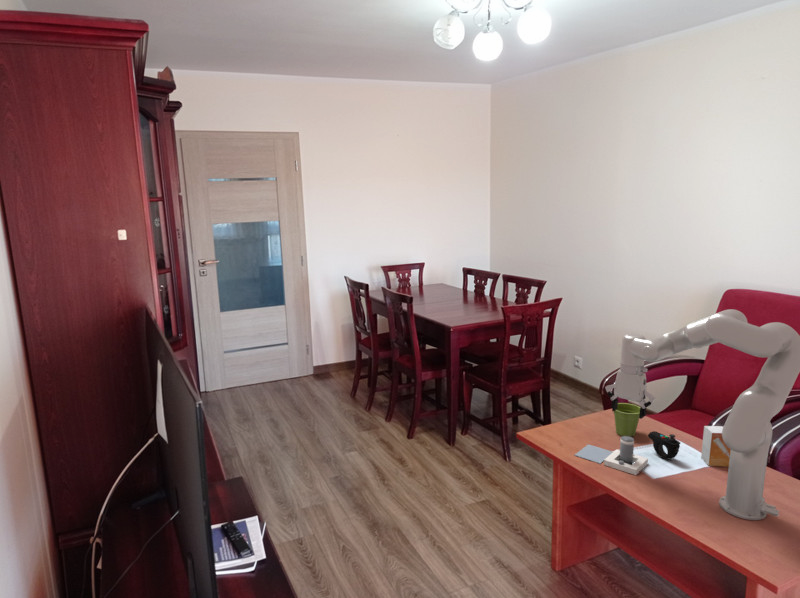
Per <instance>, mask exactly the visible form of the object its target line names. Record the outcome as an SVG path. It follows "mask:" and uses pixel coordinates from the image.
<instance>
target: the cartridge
mask: <svg viewBox="0 0 800 598" xmlns="http://www.w3.org/2000/svg"><path fill="white" fill-rule="evenodd" d="M619 441H620V445H619V446H620V447H619V450H620V458H619V460H622V461H624V463H626V464H630V465H633V464H634V462H633V453H634V450H635V449H634V447H635V446H634V445H635V438H634V437H633V436H631V437H629V436H620V440H619ZM619 460H618V461H619Z"/></svg>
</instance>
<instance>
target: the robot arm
mask: <svg viewBox="0 0 800 598" xmlns="http://www.w3.org/2000/svg"><path fill="white" fill-rule="evenodd" d="M718 343H719V344H722V345H725V346H727V347H729V348H732V349H735V350H737V351H740V352H743V353H745V354H748V355H750V356H753V357H757V358H766V361H765V362H764V364H763V366H762V367H761V369H760V372H759V374H758V376H757V378H756V380H755V381H754V383H753V384H752V385H751V386H750V387H749V388H747V389H746V390H744V391H743V392H741V393H740V394H739V396H738V397H737V398H736V400H735V402H734V404H733V406H732V408H731V409H730V411H729V414H728V416H727V419H726V420H725V423H724V425H723V426H724V427H723V430H722V438H723V441H724V443H725V444H726V445H727V447H728V448H730V449H731V451H730V459H729V467H728V471H727V481H726V489H725V490H726V491H725V495H723V496H721V497H720V498H719V502H718V504H719V506H720V508H721V509H723V511H725V512H726V513H728V514H730V515H731V516H734V517H736V518H740V519H745V520H749V521H759V520H763V519H765V518H767V516H768V515H770V516H774V517H777V518H778V517H779V515H780V514H779V513H780V510H779V509H776V508H777V507H776V505H772V504H769V503H767V502H765V500H766V497H763V496H764V489H765V488H764V486H765V479H766V470H767V465H768V456H769V450H770V446H771V442H772V438H773V426H772V423H771V420H772V419H773V417H775V416H776V415H778V414H779V413H780V411H782V410H783V408H784V406H785V403H786V401H787V398H788V396H789V395H790V393H791V391H792V389H793V386H794V385H795V382H796V380H797V378H798V376H799V374H800V334H799V333H798V332H797V330H795V329H794V328H793V327H791V326H790V325H788V324H786V323H784V322H779V321H775V322H768V323H765V324H763V325H761V326H758V325H754V324H752V323H749V322H748V318H747V317H746V315H745V314H744V313H743V312H741V310H740V311H739V310H737V309H730V308H729V309H724V310H722V311H719V312H717V313H713V314H712V315H709V316H706V317H703V318H701V319H698V320H697V319H696V320H694V321H692V322H689V323H687V324H685V325H684V326H683V327H681V328H677V329H675V330H673V331H670V332H667V333H665V334H660V335H658V336H655V337H652V338H647V339H646V337H645V336H644V335H643V334H640V333H626V334H624V335H623V336H622V341H621V352H620V354H621V356H620V366H619V367H620V368H619V369H618V371H617V373H616V378H615V381H614V383H613V384H608V385H606V386H604V387H605V390H606V392H607V393H606V395H608V397H609V398H610V399H609V400H611V407H610V408H611V411H612V412H614V411H615V410H617V407H618V403H619V399H623V400H627V401H631V402H636V403H639V405H640V407H641V408H640V414H639V420H643V418H645V417H646V415H647V407H648V408H649V407H650V406H651V405H652V404H653V403H654V402H655V400H656V397H655V396H654V395H652V394H651V393H650V392H649V391H647V376H646V373H648V370H649V369H648V368H647V367H645V361H646V362H650V363H655V362H658V361H661V360H663V359H665V358H668V357H670V356H673V355H676V354H678V353H681V352H684V351H687V350H692V349H697V350H698V349H702V348H706V347H708V346H711V345H715V344H718ZM612 389H613V390H612ZM618 398H619V399H618ZM646 398H647V399H648V401H646ZM767 514H768V515H767Z"/></svg>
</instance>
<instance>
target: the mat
mask: <svg viewBox="0 0 800 598" xmlns="http://www.w3.org/2000/svg"><path fill="white" fill-rule="evenodd" d="M613 452H614V451H611V450H608V449H605V448H602V447H599V446H595V445H591V444H588V443H587V444H586V446H584V447H583V448H581V449H580V450H579V451H577V452H576V453H575V454H574V456H575V457H578V458H581V459H584V460H587V461H589V462H590V461H591V462H593V463H595V464H600V465H602V463H604V459H606V458H607V457H608V456H609V455H610V454H611V453H613Z"/></svg>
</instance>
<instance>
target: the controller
mask: <svg viewBox="0 0 800 598" xmlns="http://www.w3.org/2000/svg"><path fill="white" fill-rule="evenodd" d="M647 437H648V438H649V439H650V440H651V441H652V445H653V450H654V451H655V453H656V455H658V456H659V457H660V458H661V459H664V460H671V459H674V458H676V457H677V456H678V453H679V451H680V447H681V442H680V441H679V440H677V439H676V435H675V434H671V433H670V434H669V436H668V435H665V434H663V433H660V432H658V431H657V430H656V431H655V430H653V431H650V432H649V433H648V434H647ZM664 447H665V449H666V450H667V452H665V450H664Z"/></svg>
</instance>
